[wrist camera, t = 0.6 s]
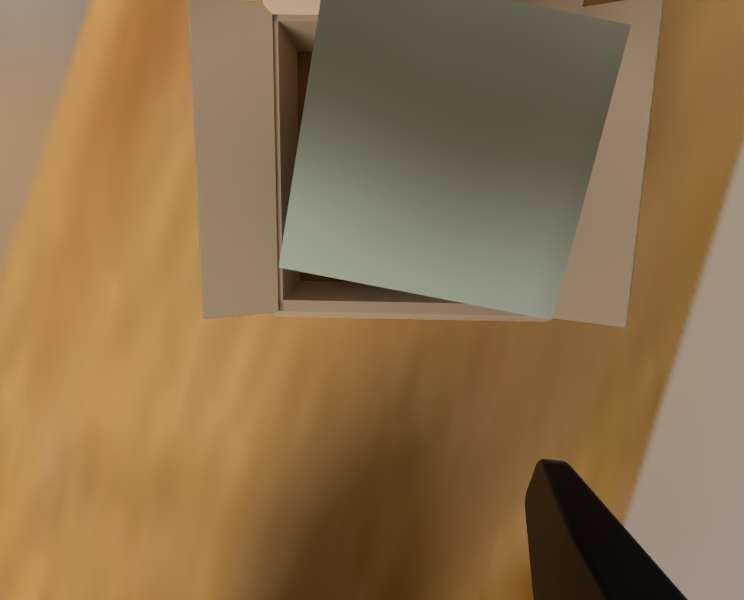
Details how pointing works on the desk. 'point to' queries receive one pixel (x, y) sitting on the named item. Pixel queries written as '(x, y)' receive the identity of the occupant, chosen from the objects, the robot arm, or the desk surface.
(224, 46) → the carton
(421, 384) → the desk surface
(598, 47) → the box
